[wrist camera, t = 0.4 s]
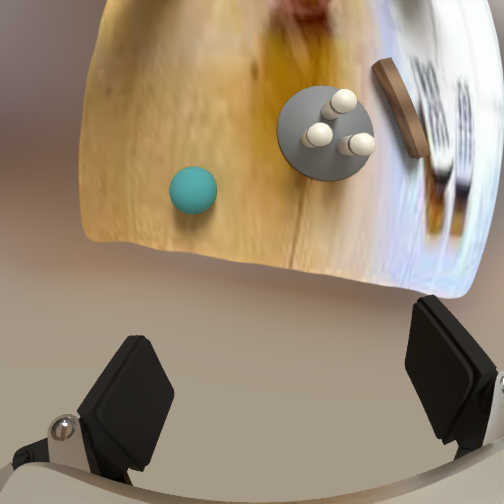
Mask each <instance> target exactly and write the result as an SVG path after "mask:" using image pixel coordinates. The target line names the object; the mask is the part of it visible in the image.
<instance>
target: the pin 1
mask: <svg viewBox="0 0 504 504" xmlns="http://www.w3.org/2000/svg"><path fill="white" fill-rule="evenodd" d="M356 104H357V99H356V96H355V95H354V93H352V92H351V91H350V90H347V89H341V90H339V91H337V92H336V93H335V94H334V95H332V97H331V98H330V99H329V100H328V101H327V102H326V103H325V104H324V105H323V106H322V107H321V114H322V116H323V117H324V118H325V119H327V120H334V119H336V118H338V117H339V116H341V115H343V114H346V113H348V112H350V111H351V110H353V109H354V108H355V107H356Z"/></svg>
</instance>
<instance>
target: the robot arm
mask: <svg viewBox="0 0 504 504" xmlns="http://www.w3.org/2000/svg"><path fill="white" fill-rule="evenodd" d="M405 369H406V371H407V373H408V375H409V377H410V379H411V382H412V384H413V386H414V388H415V390H416V392H417V394H418V396H419V398H420V401H421V403H422V405H423V407H424V409H425V412H426V414H427V416H428V419H429V421H430V423H431V426H432V428H433V430H434V433H435V435H436V437H437V438H438V439H442V442H443V444H444V445H446V444H447V443H450V442H452V441H454V440H456V441H457V443H458V446H459V447H458V450H457V452H456V455H455V458H454V460H453V461H451V462H449V463H447V464H444V465H442V466H440V467H437V468H435V469H432V470H430V471H427V472H424V473H421V474H419V475H416V476H413V477H410V478H408V479H404V480H401V481H398V482H395V483H391V484H388V485H384V486H381V487H377V488H373V489H369V490H365V491H360V492H356V493H351V494H346V495H340V496H334V497H327V498H321V499H312V500H303V501H292V502H291V501H290V502H269V503H247V502H246V503H245V502H225V501H212V500H203V499H194V498H187V497H181V496H175V495H170V494H164V493H159V492H155V491H150V490H146V489H142V488H138V487H134V486H133V485H132V482H131V480H130V478H129V475H128V473H127V470H128V468H130V469H132V470H136V471H141V472H143V471H144V468H145V466H147V465H148V464H149V463H150V460H151V458H152V455H153V452H154V449H155V447H156V444H157V441H158V439H159V436H160V433H161V430H162V428H163V425H164V422H165V420H166V417H167V414H168V412H169V409H170V407H171V404H172V401H173V399H174V389H173V387H172V385H171V383H170V381H169V380H168V378H167V376H166V374H165V372H164V370H163V368H162V366H161V364H160V362H159V360H158V357H157V355H156V353H155V351H154V349H153V347H152V345H151V342H150V341H149V340H148V339H146V338H145V337H144V336H142V335H140V336H139V335H136V336H128V337H127V338H126V340H125V341H124V342H123V344H122V345H121V347H120V348H119V349H118V351H117V352H116V354H115V355H114V356H113V358H112V359H111V361H110V362H109V364H108V365H107V366H106V368H105V369H104V371H103V372H102V374H101V375H100V377H99V378H98V380H97V381H96V382H95V384H94V386H93V387H92V388H91V390H90V391H89V393H88V394H87V396H86V398H85V399H84V401H83V402H82V404H81V405H80V407H79V408H78V410H77V412H78V414H79V415H80V416H81V417H80V418H79V419H78V418H77V417H76V416H74V415H72V414H65V415H61V416H59V417H57V418H56V419H55V420H54V421H53V422H52V423H51V424H50V426H49V428H48V433H47V436H48V437H47V438H45V439H43V440H40V441H37V442H35V443H32V444H30V445H27V446H24V447H22V448H20V449H19V450H17V451H16V453H15V454H14V457H13V463H11V462H10V463H9V464H8V465H6V466H5V467H3V468H2V469H1V470H0V504H504V369H503V370H502V371H501V372H500V373H498V372H497V370H496V366H495V365H494V363H493V362H492V361H491V359H490V358H489V357H488V356H487V354H486V353H485V352H484V351H483V349H482V348H481V347H480V346H479V344H478V343H477V342H476V341H475V340H474V339H473V337H472V336H471V335H470V334H469V333H468V331H467V330H466V329H465V328H464V327H463V326H462V325H461V323H460V322H459V321H458V320H457V319H456V318H455V317H454V315H453V314H452V313H451V312H450V311H449V310H448V309H447V308H446V307H445V306H444V305H443V304H442V303H441V302H440V300H439V299H438V298H437V297H436V296H435V295H429V296H425V297H421V298H419V299H418V300H417V303H415V304H414V305H413V311H412V319H411V327H410V334H409V340H408V346H407V352H406V358H405Z"/></svg>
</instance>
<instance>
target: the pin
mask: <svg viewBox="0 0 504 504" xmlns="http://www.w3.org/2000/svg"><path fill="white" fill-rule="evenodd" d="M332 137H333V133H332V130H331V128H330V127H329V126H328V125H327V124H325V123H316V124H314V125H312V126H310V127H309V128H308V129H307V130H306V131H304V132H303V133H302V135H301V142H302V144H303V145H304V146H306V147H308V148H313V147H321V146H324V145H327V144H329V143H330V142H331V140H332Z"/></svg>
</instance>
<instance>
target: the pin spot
mask: <svg viewBox="0 0 504 504" xmlns="http://www.w3.org/2000/svg"><path fill="white" fill-rule="evenodd" d="M339 90H340V89H338V88H334V87H330V86H314V87H310V88H306V89H304V90H301V91H300V92H298V93H296V94H295V95H294V96H292V97H291V98H290V99H289V100H288V101H287V103H286V104H285V105H284V107H283V109H282V111H281V113H280V116H279V119H278V125H277V134H278V140H279V144H280V147H281V150H282V152H283V154H284V155H285V157H286V158H287V160H288V161H289V162H290V163H291V164H292V166H294V167H295V168H296V169H297V170H298V171H300V172H301V173H303V174H305V175H307V176H309V177H311V178H314V179H318V180H324V181H335V180H340V179H344V178H347V177H349V176H351V175H353V174H354V173H356V172H357V171H358V170H359V169H360V168H361V167H362V166H363V165H364V164H365V163H366V161H367V159H368V158H369V156H370V155H368V156H356V155H343V154H341V153H339V152H338V150H337V148H336V143H337V141H338V139H340V138H342V137H346V136H351V135H354V134H360V133H367V134H369V135H371V136H372V137H373V139H374V134H373V127H372V123H371V120H370V117H369V115H368V113H367V112H366V110H365V109H364V107H363V106H362V105H361V103H360V102H359V101H358V100H357V104H356V107H355V108H354V109H353V110H351V111H350V112H348V113H346V114H343V115H341V116H339V117H338V118H336V119H334V120H327V119H325V118H324V117H323V116H322V114H321V107H322V106H323V105H324V104H325V103H326V102H327V101H328V100H329V99H330V98H331V97H332V95H334V94H335V93H336V92H337V91H339ZM316 123H325V124H327V125H328V126H329V127H330V128H331V130H332V133H333V137H332V140H331V142H330V143H329V144H327V145H324V146H321V147H313V148H308V147H306V146H304V145H303V144H302V142H301V135H302V133H303V132H304V131H306V130H307V129H308V128H309V127H310V126H312V125H314V124H316Z"/></svg>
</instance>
